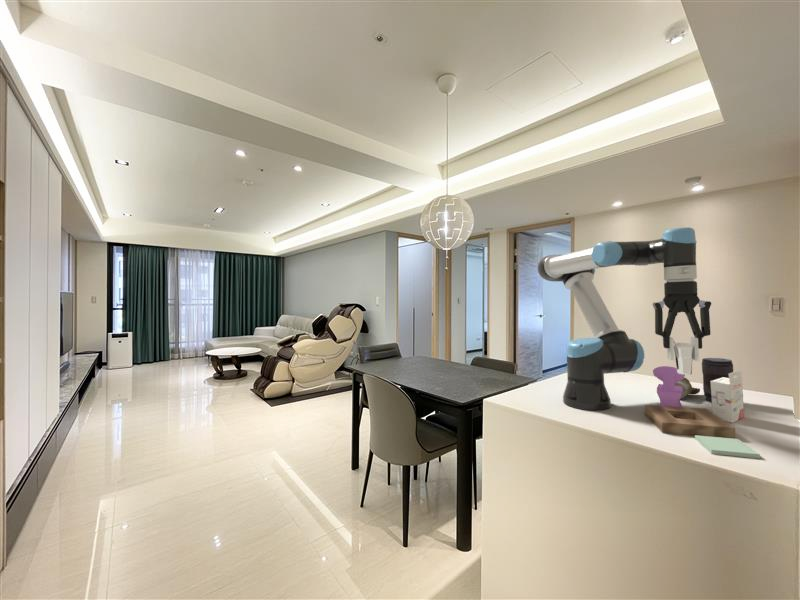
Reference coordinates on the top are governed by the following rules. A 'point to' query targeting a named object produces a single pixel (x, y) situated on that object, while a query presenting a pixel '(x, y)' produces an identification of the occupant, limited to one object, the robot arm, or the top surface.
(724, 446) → the mat
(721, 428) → the pocket block
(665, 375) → the toy chair
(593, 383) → the robot arm
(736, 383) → the ink cartridge box
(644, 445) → the top surface
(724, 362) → the camera lens
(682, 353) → the milkshake
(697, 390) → the ceramic sculpture
